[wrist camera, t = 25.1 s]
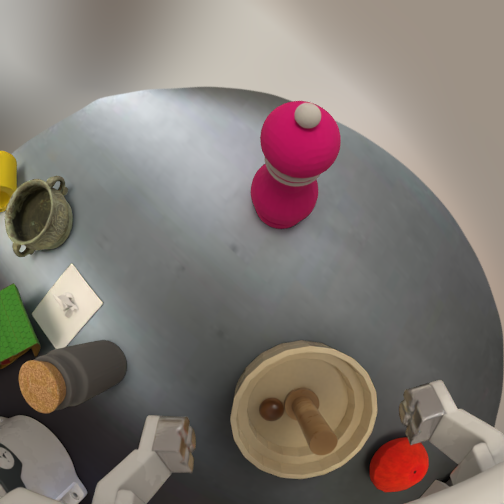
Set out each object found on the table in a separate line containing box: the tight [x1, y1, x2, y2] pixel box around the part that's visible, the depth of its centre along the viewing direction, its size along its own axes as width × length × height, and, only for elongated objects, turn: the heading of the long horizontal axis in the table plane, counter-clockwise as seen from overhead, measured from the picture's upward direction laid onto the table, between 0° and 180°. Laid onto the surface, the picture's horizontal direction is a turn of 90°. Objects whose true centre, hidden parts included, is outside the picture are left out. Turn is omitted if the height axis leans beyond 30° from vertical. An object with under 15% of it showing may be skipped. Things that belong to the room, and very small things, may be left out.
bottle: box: [19, 340, 127, 413], centre depth 27 cm, size 6×6×15 cm
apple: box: [370, 437, 429, 492], centre depth 29 cm, size 8×8×7 cm
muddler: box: [284, 387, 338, 455], centre depth 28 cm, size 4×4×12 cm
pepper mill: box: [251, 101, 340, 229], centre depth 28 cm, size 7×7×20 cm
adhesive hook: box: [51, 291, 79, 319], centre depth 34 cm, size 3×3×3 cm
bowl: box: [230, 340, 377, 479], centre depth 31 cm, size 15×15×6 cm
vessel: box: [5, 176, 73, 257], centre depth 34 cm, size 12×9×6 cm
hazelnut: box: [259, 398, 284, 421], centre depth 32 cm, size 3×3×3 cm
